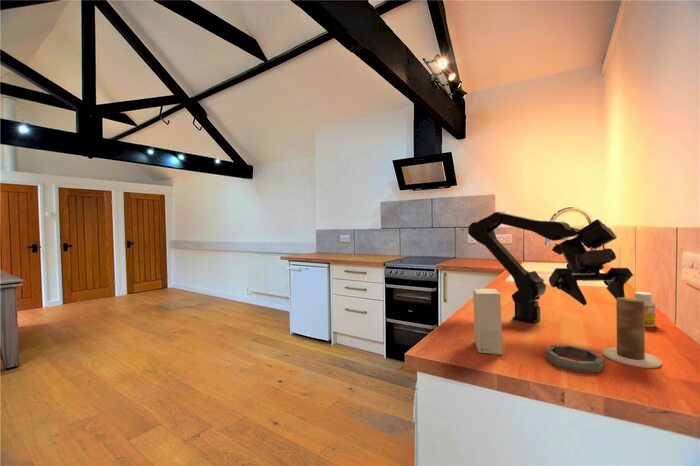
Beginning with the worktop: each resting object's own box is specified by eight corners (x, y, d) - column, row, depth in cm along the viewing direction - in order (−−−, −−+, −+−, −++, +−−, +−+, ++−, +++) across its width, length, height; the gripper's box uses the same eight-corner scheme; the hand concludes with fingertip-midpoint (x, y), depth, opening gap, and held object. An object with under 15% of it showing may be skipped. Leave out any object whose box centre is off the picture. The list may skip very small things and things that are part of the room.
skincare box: (503, 355, 74) (502, 294, 74) (476, 353, 76) (475, 293, 76) (497, 343, 82) (497, 287, 82) (473, 341, 84) (472, 286, 84)
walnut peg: (616, 356, 72) (616, 300, 71) (617, 349, 75) (616, 296, 75) (645, 361, 68) (644, 303, 68) (644, 354, 72) (643, 299, 72)
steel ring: (540, 361, 71) (540, 353, 71) (555, 350, 77) (555, 342, 77) (595, 377, 63) (595, 367, 63) (607, 362, 69) (607, 354, 69)
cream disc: (598, 357, 72) (598, 355, 72) (608, 346, 79) (608, 344, 79) (658, 372, 65) (658, 369, 65) (663, 358, 71) (663, 356, 71)
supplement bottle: (626, 322, 98) (626, 291, 98) (642, 321, 99) (642, 290, 98) (644, 327, 93) (643, 295, 93) (660, 326, 93) (660, 294, 93)
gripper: (554, 239, 85) (579, 287, 75) (627, 237, 83) (664, 286, 73) (539, 264, 93) (561, 310, 83) (606, 263, 91) (637, 310, 81)
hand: (604, 304), depth 80 cm, fingers open, 9 cm apart
